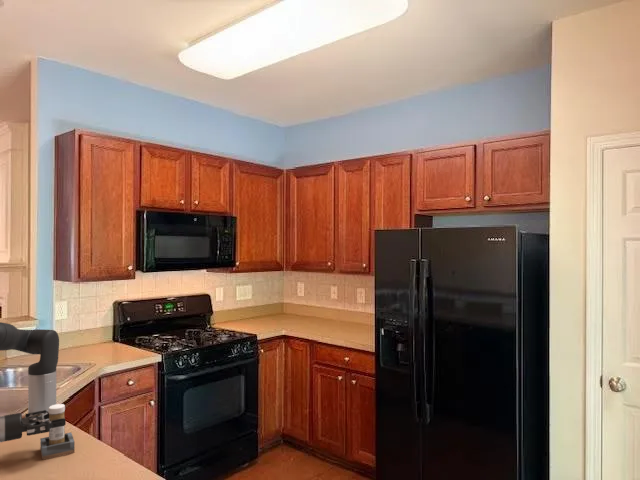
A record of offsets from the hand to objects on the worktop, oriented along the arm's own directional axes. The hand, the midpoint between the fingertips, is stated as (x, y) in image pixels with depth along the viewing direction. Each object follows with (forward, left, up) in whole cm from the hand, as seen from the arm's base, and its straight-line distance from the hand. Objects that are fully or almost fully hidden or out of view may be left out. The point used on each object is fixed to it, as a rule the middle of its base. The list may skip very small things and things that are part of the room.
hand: (64, 417), depth 152 cm
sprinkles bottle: (0, -2, -10) cm, 10 cm away
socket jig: (0, -2, -10) cm, 10 cm away
